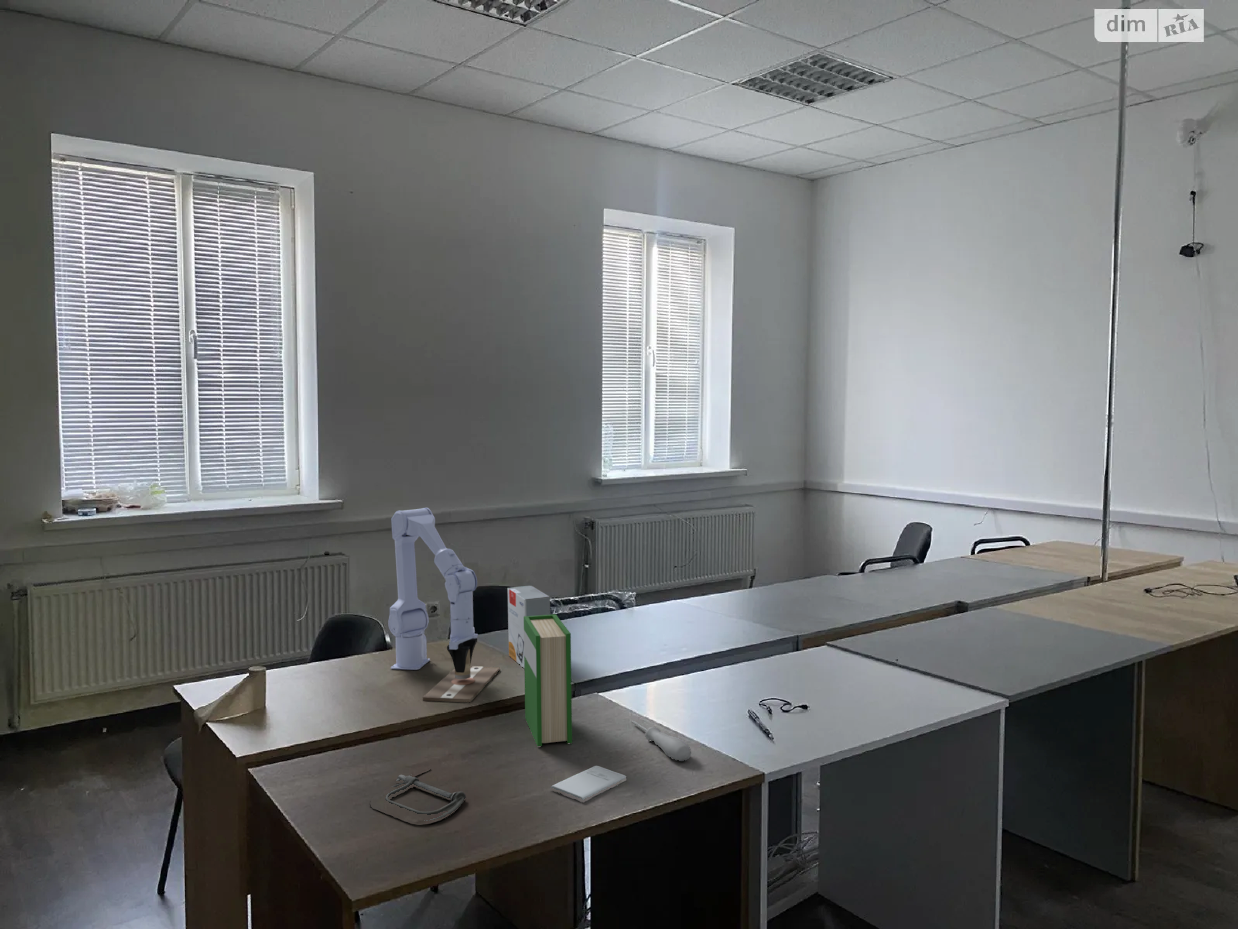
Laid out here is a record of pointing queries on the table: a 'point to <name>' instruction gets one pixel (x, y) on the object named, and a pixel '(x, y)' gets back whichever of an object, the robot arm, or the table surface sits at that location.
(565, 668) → the hardback book
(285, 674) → the table surface
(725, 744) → the table surface
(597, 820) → the table surface
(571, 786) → the external hard drive
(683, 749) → the screwdriver
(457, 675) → the tan cylinder
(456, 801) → the c clamp
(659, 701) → the table surface
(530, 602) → the hard drive box
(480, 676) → the board
